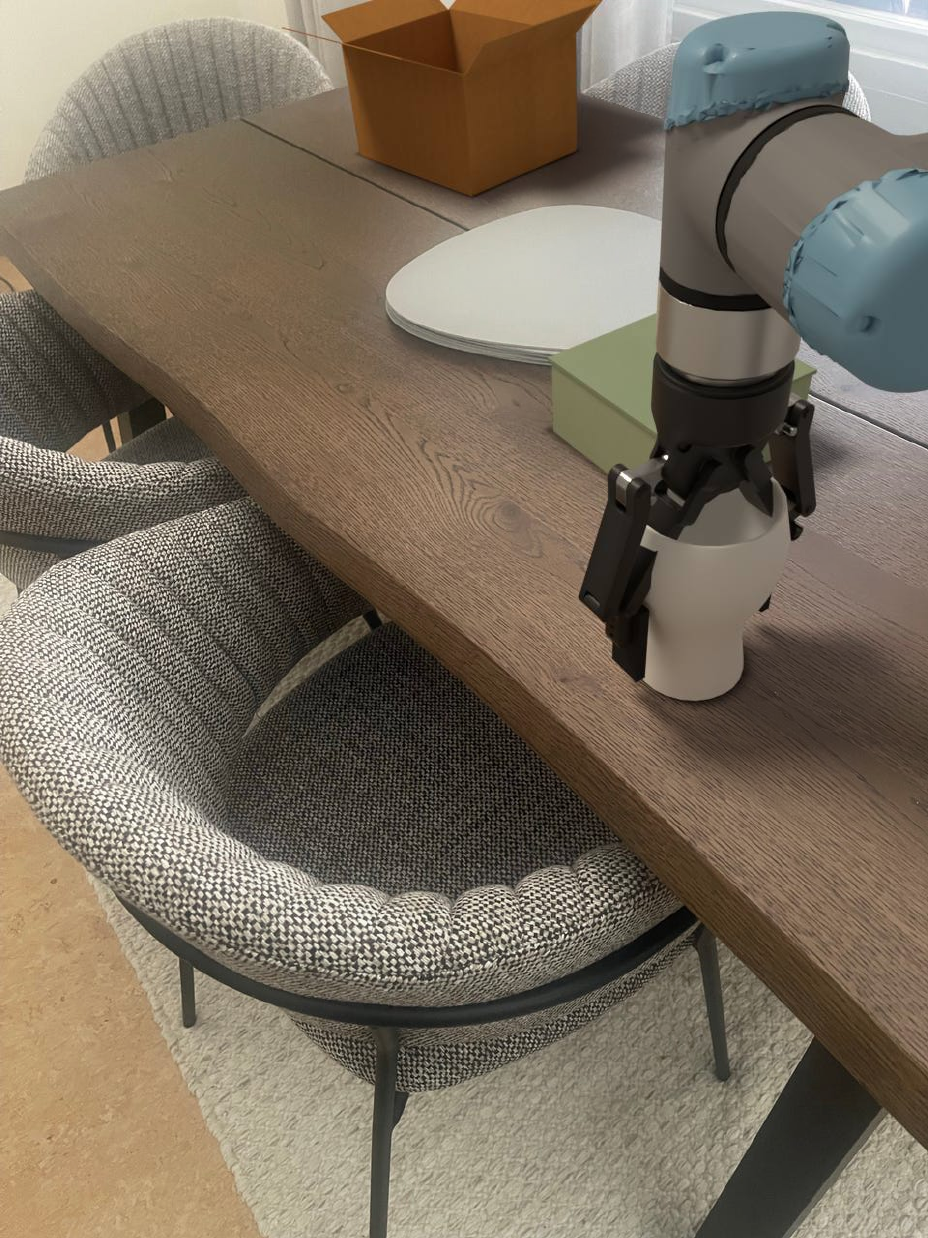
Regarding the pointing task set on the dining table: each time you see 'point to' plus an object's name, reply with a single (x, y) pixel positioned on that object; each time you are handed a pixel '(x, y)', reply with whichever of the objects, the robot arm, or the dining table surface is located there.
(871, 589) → the dining table surface
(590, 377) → the green flat-topped block
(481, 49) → the box
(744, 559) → the cup
